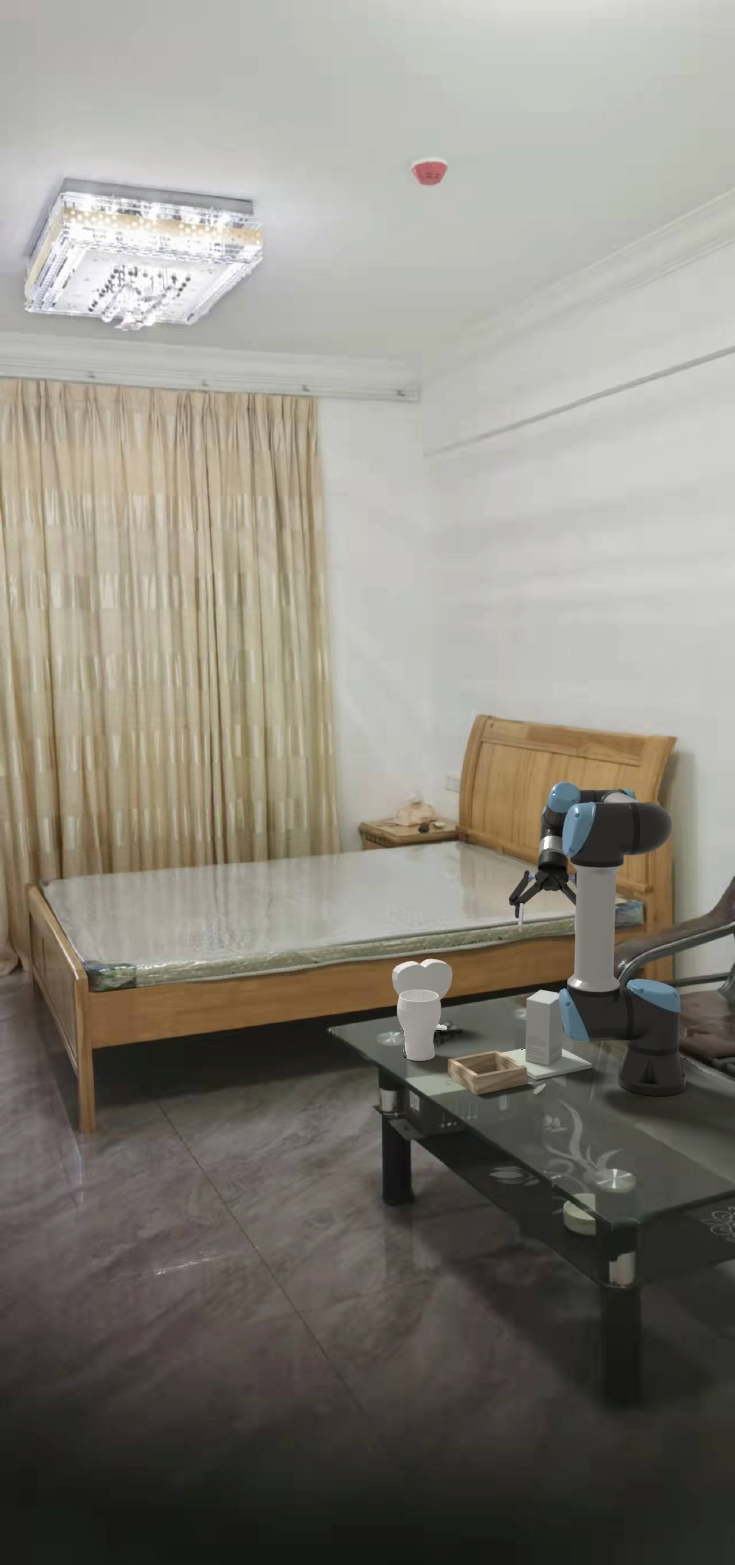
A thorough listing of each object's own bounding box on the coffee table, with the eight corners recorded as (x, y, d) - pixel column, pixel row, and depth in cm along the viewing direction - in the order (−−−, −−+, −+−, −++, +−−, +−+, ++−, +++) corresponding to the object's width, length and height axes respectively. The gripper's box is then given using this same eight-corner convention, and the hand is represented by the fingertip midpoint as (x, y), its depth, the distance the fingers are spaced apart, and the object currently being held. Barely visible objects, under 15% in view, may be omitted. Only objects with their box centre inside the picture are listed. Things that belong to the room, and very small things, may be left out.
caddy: (526, 1084, 266) (526, 1067, 266) (476, 1094, 260) (476, 1077, 260) (496, 1066, 277) (496, 1050, 276) (447, 1076, 271) (447, 1059, 270)
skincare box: (539, 1050, 284) (540, 988, 282) (564, 1056, 281) (565, 993, 279) (524, 1061, 277) (524, 997, 275) (549, 1067, 274) (550, 1002, 272)
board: (591, 1067, 276) (591, 1063, 276) (535, 1079, 269) (535, 1075, 268) (551, 1046, 290) (551, 1042, 290) (497, 1057, 283) (497, 1053, 283)
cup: (437, 1064, 278) (437, 1003, 276) (393, 1061, 280) (393, 1001, 278) (443, 1049, 288) (443, 990, 287) (401, 1046, 291) (401, 987, 289)
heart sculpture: (445, 1022, 308) (445, 956, 306) (453, 1028, 303) (454, 961, 301) (390, 1030, 303) (390, 962, 300) (398, 1036, 298) (398, 967, 296)
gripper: (603, 868, 298) (600, 940, 286) (505, 864, 304) (498, 935, 291) (603, 851, 293) (599, 924, 280) (503, 847, 298) (495, 919, 286)
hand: (547, 930), depth 286 cm, fingers open, 13 cm apart
